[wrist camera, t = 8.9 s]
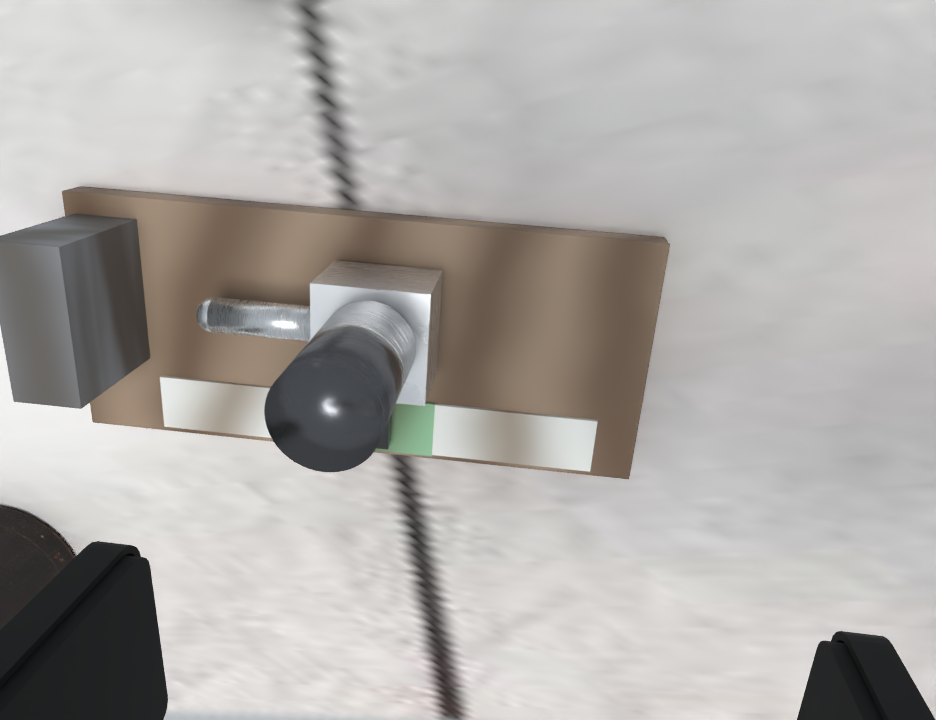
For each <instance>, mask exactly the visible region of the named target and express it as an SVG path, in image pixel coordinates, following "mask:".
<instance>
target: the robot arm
mask: <svg viewBox="0 0 936 720" xmlns="http://www.w3.org/2000/svg"><path fill="white" fill-rule="evenodd" d="M167 703H168V695H167V688H166V681H165V673H164V666H163V658H162V651H161V644H160V636H159V629H158V622H157V614H156V607H155V600H154V592H153V585H152V578H151V570H150V565H149V561H148V560H147V559H146V558H144V557H141V556H140V552H139V550H138V549H137V548H136V547H134V546H132V545H124V544H115V543H107V542H99V541H97V542H92V543H91V544H89V545H88V546H87V547H85V548H84V549H83V550H82V551H81V552H80V553H79V554H78V555H77V556H76V557H75V558H74V559H73V560H72V561H71V562H70V563H69V564H68V565H67V566H66V567H65V568H64V569H63V570H62V571H61V572H60V573H59V574H58V575H57V576H56V577H54V578H53V579H52V580H51V581H50V582H49V583H48V584H47V585H46V586H45V587H44V588H43V589H42V590H41V591H40V592H39V593H38V594H37V595H36V596H35V597H34V598H33V599H32V600H31V601H30V602H29V603H28V604H27V605H26V606H25V607H24V608H23V609H22V610H20V611H19V612H18V613H17V614H16V615H15V616H14V617H13V618H12V619H11V620H10V621H9V622H8V623H7V624H6V625H5V626H4V627H3V628H2V629H1V630H0V720H163V719H164V716H165V713H166V709H167ZM797 720H935V718H934V717H933V715H932V713H931V711H930V710H929V708H928V706H927V704H926V703H925V701H924V699H923V697H922V696H921V694H920V692H919V690H918V689H917V687H916V685H915V684H914V682H913V680H912V678H911V677H910V675H909V673H908V671H907V670H906V668H905V666H904V664H903V663H902V661H901V659H900V657H899V656H898V654H897V652H896V650H895V649H894V647H893V645H892V644H891V642H890V641H889V640H888V639H887V638H885V637H883V636H876V635H867V634H859V633H851V632H843V631H839V632H836V633H835V634H834V635H833V637H832V640H831V642H830V641H821V642H820V643H819V645H818V647H817V650H816V654H815V657H814V661H813V664H812V668H811V671H810V675H809V679H808V682H807V686H806V689H805V693H804V697H803V700H802V704H801V707H800V711H799V715H798V718H797Z"/></svg>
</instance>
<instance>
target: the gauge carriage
mask: <svg viewBox="0 0 936 720" xmlns="http://www.w3.org/2000/svg"><path fill="white" fill-rule="evenodd" d="M442 275H443V270H436V269H425V268H414V267H403V266H392V265H381V264H370V263H359V262H349V261H338V260H335V261H334V262H333V263H331V264H330V265H329V266H328V267H327V268H326V269H325V270H324V271H323V272H322V273H321V274H319V275H318V276H317V277H316V278H315V279H314V280H313V281H312V282H311V283H310V306H302V305H292V304H281V303H271V302H260V301H250V300H239V299H229V298H218V297H210V298H207V299H205V300H203V301H202V302H201V303H200V304H199V305H198V307H197V309H196V314H195V315H196V320H197V322H198V324H199V326H200V327H201V328H203V329H204V330H206V331H208V332H212V333H222V334H232V335H242V336H253V337H263V338H273V339H283V340H293V341H304V342H308V343H307V344H306V346H305V347H304V348H303V349H302V350H301V351H300V353H299V354H298V355H297V356H296V357H295V358H294V360H293V361H292V362H291V363H290V364H289V365H288V367H287V368H286V369H285V370H284V371H283V372H282V374H281V375H280V376H279V377H278V378H277V379H276V381H275V382H274V383H273V385H272V386H271V388H270V390H269V392H268V394H267V397H266V401H265V407H264V415H265V422H266V426H267V429H268V431H269V434H270V436H271V438H272V439H273V441H274V443H275V444H276V445H277V447H278V448H279V449H280V450H281V451H282V452H283V453H284V454H285V455H286V456H287V457H289V458H290V459H291V460H293V461H294V462H296V463H298V464H300V465H302V466H304V467H306V468H309V469H313V470H316V471H322V472H339V471H344V470H348V469H351V468H354V467H356V466H358V465H360V464H361V463H363V462H364V461H365V460H366V459H368V458H369V457H370V456H371V455H372V453H373V452H374V451H375V449H376V448H377V449H387V450H388V449H389V446H390V441H391V414H392V412H393V409H394V407H395V405H396V403H399V404H409V405H419V406H425V404H426V402H427V399H428V396H429V393H430V390H431V387H432V384H433V381H434V378H435V375H436V372H437V361H438V344H439V327H440V309H441V292H442Z"/></svg>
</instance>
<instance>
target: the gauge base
mask: <svg viewBox="0 0 936 720" xmlns="http://www.w3.org/2000/svg"><path fill="white" fill-rule="evenodd" d="M62 195H63V202H64V210H65V217H62V218H59V219H55V220H52V221H49V222H45V223H42V224H39V225H35V226H32V227H29V228H25V229H22V230H19V231H15V232H12V233H9V234H5V235H2V236H0V325H1V331H2V337H3V343H4V348H5V354H6V360H7V365H8V371H9V377H10V382H11V388H12V394H13V400H14V402H23V403H32V404H42V405H51V406H61V407H70V408H80V409H81V408H83V407H84V406H86V405H87V404H88V403H90V405H91V413H92V420H93V422H95V423H105V424H114V425H124V426H133V427H142V428H152V429H161V430H171V431H180V432H190V433H199V434H208V435H218V436H227V437H237V438H246V439H255V440H265V441H273V439H272V438H271V436H270V434H269V431H268V429H267V426H266V422H265V415H264V407H265V401H266V397H267V394H268V392H269V390H270V388H271V386H272V385H273V383H274V382H275V381H276V379H277V378H278V377H279V376H280V375H281V374H282V372H283V371H284V370H285V369H286V368H287V367H288V365H289V364H290V363H291V362H292V361H293V360H294V358H295V357H296V356H297V355H298V354H299V353H300V351H301V350H302V349H303V348H304V347H305V346H306V344H307V343H308V342H304V341H293V340H283V339H273V338H263V337H253V336H242V335H232V334H222V333H212V332H208V331H206V330H204V329H203V328H201V327H200V326H199V324H198V322H197V320H196V315H195V314H196V309H197V307H198V305H199V304H200V303H201V302H202V301H203V300H205V299H207V298H210V297H218V298H229V299H239V300H250V301H260V302H271V303H281V304H292V305H302V306H310V283H311V282H312V281H313V280H314V279H315V278H316V277H317V276H318V275H319V274H321V273H322V272H323V271H324V270H325V269H326V268H327V267H328V266H329V265H330V264H331V263H333V262H334V261H335V260H338V261H349V262H359V263H370V264H381V265H392V266H403V267H414V268H425V269H436V270H443V275H442V292H441V309H440V327H439V344H438V361H437V372H436V375H435V378H434V381H433V384H432V387H431V390H430V393H429V396H428V399H427V402H426V404H425V406H419V405H409V404H399V403H396V405H395V407H394V409H393V412H392V414H391V441H390V446H389V449H388V450H387V449H377V448H376V449H375V451H374V452H378V453H387V454H397V455H406V456H416V457H425V458H434V459H444V460H453V461H463V462H472V463H481V464H491V465H500V466H510V467H519V468H528V469H538V470H547V471H557V472H566V473H576V474H585V475H594V476H604V477H613V478H623V479H629V476H630V470H631V464H632V459H633V453H634V447H635V441H636V436H637V430H638V424H639V418H640V413H641V407H642V401H643V395H644V390H645V384H646V378H647V372H648V367H649V361H650V355H651V349H652V344H653V338H654V332H655V326H656V321H657V315H658V309H659V303H660V298H661V292H662V286H663V280H664V275H665V269H666V263H667V257H668V252H669V246H670V244H669V243H668V241H667V240H666V239H665V238H664V237H654V236H643V235H631V234H620V233H608V232H597V231H586V230H574V229H563V228H551V227H540V226H528V225H517V224H505V223H494V222H482V221H471V220H459V219H448V218H436V217H425V216H413V215H402V214H390V213H379V212H367V211H356V210H345V209H333V208H322V207H310V206H299V205H287V204H276V203H264V202H253V201H241V200H230V199H218V198H207V197H195V196H184V195H172V194H161V193H149V192H138V191H126V190H115V189H104V188H92V187H77V188H73V189H69V190H64V191H62Z"/></svg>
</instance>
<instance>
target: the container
mask: <svg viewBox="0 0 936 720" xmlns="http://www.w3.org/2000/svg"><path fill="white" fill-rule="evenodd" d="M73 559H74V556H73V554H72V552H71V551H70V549H69V548H68V546H67V545H66V544H65V542H64V541H63V540H62V539H61V538H60V537H59V536H58V535H57V534H56V533H55V532H54V531H53V530H51V529H50V528H49V527H47V526H46V525H45V524H43V523H42V522H40V521H39V520H37V519H35V518H33V517H32V516H29V515H27V514H25V513H23V512H20V511H17V510H14V509H10V508H6V507H1V506H0V630H1V629H2V628H3V627H4V626H5V625H6V624H7V623H8V622H9V621H10V620H11V619H12V618H13V617H14V616H15V615H16V614H17V613H18V612H19V611H20V610H22V609H23V608H24V607H25V606H26V605H27V604H28V603H29V602H30V601H31V600H32V599H33V598H34V597H35V596H36V595H37V594H38V593H39V592H40V591H41V590H42V589H43V588H44V587H45V586H46V585H47V584H48V583H49V582H50V581H51V580H52V579H53V578H54V577H56V576H57V575H58V574H59V573H60V572H61V571H62V570H63V569H64V568H65V567H66V566H67V565H68V564H69V563H70V562H71V561H72V560H73Z"/></svg>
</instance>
